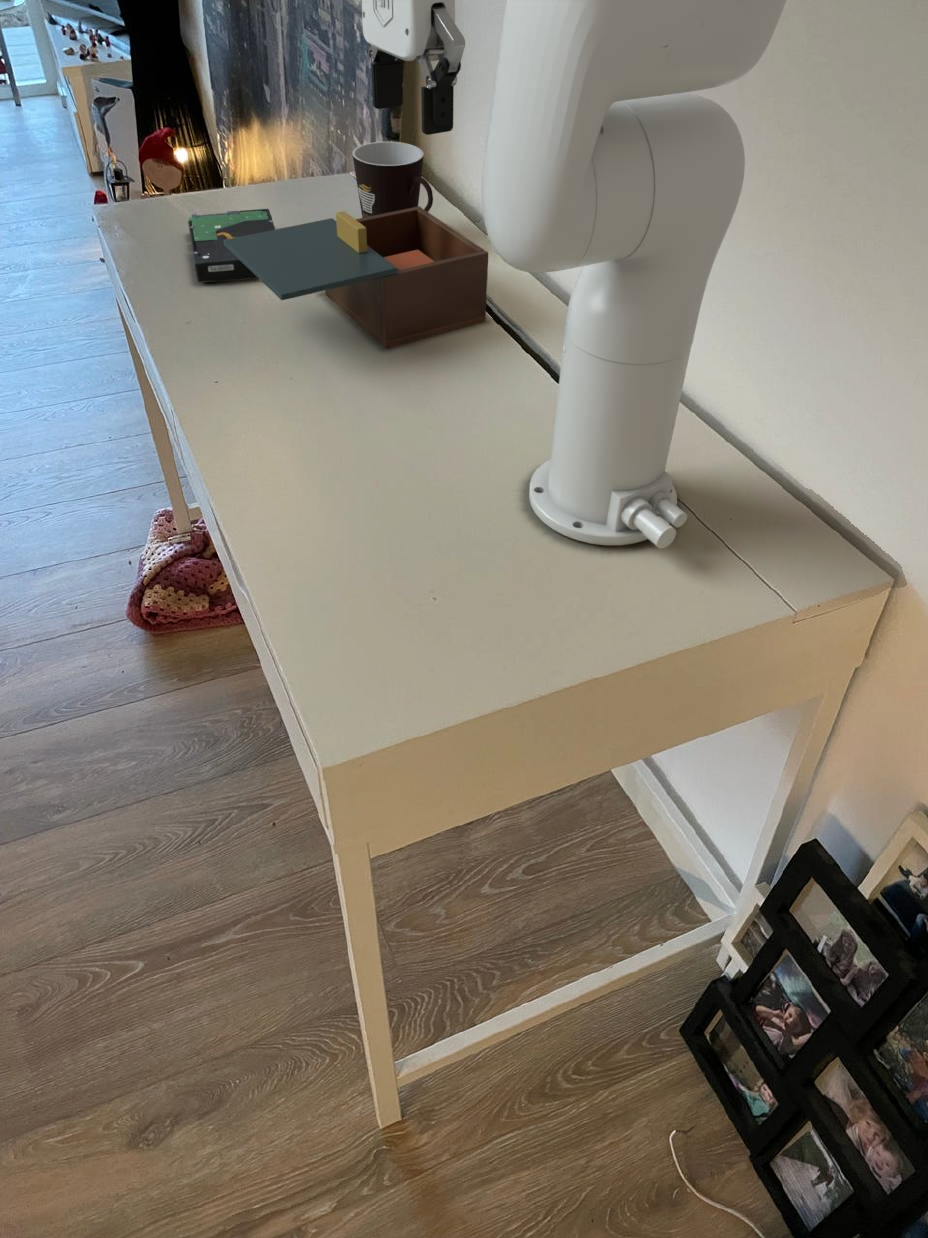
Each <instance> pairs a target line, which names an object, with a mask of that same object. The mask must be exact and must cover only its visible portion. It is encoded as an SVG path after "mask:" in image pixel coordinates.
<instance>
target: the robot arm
mask: <svg viewBox="0 0 928 1238" xmlns="http://www.w3.org/2000/svg"><path fill="white" fill-rule="evenodd" d="M786 2H787V0H506V2H505V9H504V14H503V22H502V28H501V37H500V43H499V50H498V55H497V63H496V71H495V78H494V86H493V91H492V99H491V106H490V113H489V120H488V125H487V126H488V127H487V133H486V140H485V149H484V155H483V164H482V176H481V207H482V208H481V209H482V215H483V221H484V225H485V230H486V234H487V237H488V239H489V242H490V245H492V247H493V249H494V251H495V252H496V254H497V255H498V256H499V257H500V259H502V260H503V262H504V263H506V264H507V265H509V266H510V267H512V268H514V269H516V270H519V271H522V272H526V273H532V274H533V273H534V274H536V273H537V274H544V273H551V272H552V273H553V272H560V271H565V270H571V269H575V268H580V267H581V269H580V271H579V273H578V275H577V278H576V280H575V282H574V285H573V288H572V291H571V293H570V297H569V301H568V304H567V305H568V306H567V312H566V319H565V326H564V335H563V343H562V344H563V346H562V352H561V361H560V370H559V380H558V390H557V396H556V397H557V399H556V408H555V416H554V425H553V434H552V435H553V436H552V443H551V452H550V453H551V454H550V458H549V459H547V460H546V461H544V462H543V463H542V464H540V465H539V466H538V467H537V469H536V470H534V472H533V474H532V476H531V479H530V482H529V491H528V498H529V499H528V500H529V503H530V506H531V508H532V510H533V512H534V514H535V515H536V516H537V517H538V519H540V520H541V521H542V522H543V523H544V524H545V525H546V526H548V527H549V528H550V529H552V530H553V531H555V532H557V533H559V534H561V535H563V536H566V537H567V538H570V539H572V540H575V541H579V542H583V543H585V544H586V543H587V544H591V545H599V546H624V545H632V544H637V543H641V542H645V541H647V540H649V542H651V543H652V544H653V545H654V546H656V547H657V548H658V549H660V550H661V549H666V548H667V547H669V546H670V545H671V544H672V543H673V541H674V540H675V538H676V536H677V530H676V529H677V528H680V527H682V526H683V525H685V523H686V522H687V519H688V514H687V513H686V512H685V511H684V510H682V509H681V508H680V507H679V506H678V496H677V491H676V489H675V486H674V484H673V481H674V477H673V476H672V475H670V474H669V473H668V472H667V471H666V468H667V464H668V463H667V462H668V458H669V453H670V448H671V443H672V439H673V434H674V430H675V425H676V421H677V416H678V411H679V406H680V401H681V397H682V392H683V387H684V383H685V378H686V373H687V368H688V363H689V360H690V359H689V358H690V355H691V349H692V345H693V344H694V343H693V342H694V339H695V334H696V329H697V324H698V320H699V315H700V311H701V308H702V304H703V303H702V302H703V298H704V295H705V291H706V288H707V285H708V281H709V279H710V278H709V277H710V275H711V271H712V268H713V266H714V263H715V260H716V258H717V255H718V253H719V250H720V248H721V246H722V243H723V241H724V239H725V236H726V235H727V231H728V229H729V228H730V225H731V223H732V220H733V217H734V215H735V213H736V210H737V206H738V203H739V200H740V197H741V193H742V191H743V185H744V179H745V169H746V168H745V167H746V158H745V156H746V155H745V148H744V142H743V138H742V134H741V133H740V129H739V127H738V125H737V124H736V122H735V121H734V118H733V117H732V116H731V115H730V113H729V112H728V111H727V110H726V109H725V108H724V107H722V106H721V105H720V104H719V103H717V102H715V101H713V100H711V99H709V98H707V97H704V96H701V95H698V94H692V92H696V91H704V90H709V89H714V88H718V87H722V86H725V85H728V84H730V83H733V82H735V81H737V80H740V79H741V78H742V77H744V76H745V75H747V74H748V73H749V72H750V71H751V70H752V69H753V68H754V67H755V66H756V65H757V64H758V63H759V62H760V60H761V59H762V57H763V55H764V53H765V52H766V50H767V48H768V46H769V44H770V42H771V40H772V38H773V35H774V33H775V31H776V28H777V26H778V23H779V21H780V19H781V17H782V13H783V10H784V8H785V5H786ZM361 21H362V22H361V23H362V35H363V38H364V39H365V41H366V43H368V46H369V48H368V52H367V54H368V55H367V56H368V60H369V63H370V66H371V67H370V69H371V71H370V72H371V91H372V106H373V108H375V109H377V110H382V109H390V108H395V107H401V106H402V105H403V103H404V89H403V88H404V87H403V84H404V83H403V82H404V81H403V61H405V62H412V61H415V60H416V59H417V63H418V65H419V69H420V71H421V74H422V77H423V80H424V82H425V85H424V86H421V87H420V89H421V91H420V101H421V105H420V107H421V109H420V110H421V132H422V133H423V134H425V136H431V135H435V134H441V133H447V132H451V131H453V129H454V98H455V97H454V94H455V93H454V92H455V91H454V87H455V86H456V85H457V84H458V74H459V72H460V71H461V68H462V63H461V61H462V59H463V55H464V51H465V48H466V39H465V36H464V35H463V34H462V32H461V30H460V29H459V28H458V25H457V24H456V0H361ZM436 61H438V62H437V63H436V66H435V67H434V68H433V65H432V62H436ZM690 92H691V93H690ZM672 525H673V526H674V527H673V526H672Z"/></svg>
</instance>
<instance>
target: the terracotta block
mask: <svg viewBox="0 0 928 1238" xmlns="http://www.w3.org/2000/svg"><path fill="white" fill-rule="evenodd" d="M383 258H385V259H386V260H387V261H388V262H390V263H391V264H392V265H394V266H395V267H396V268H397V271H398V270H402V269H407V268H411V267H415V266H420V265H424V264H428V263H432V262H434V261H433V260H432V259H430V258H429V257H428V256H426V255H425V254H423V253H422V252H421V251H419V250H414V251H409V252H405V253H401V254H396V255H392V256H387V257H383Z"/></svg>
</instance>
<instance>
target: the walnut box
mask: <svg viewBox="0 0 928 1238" xmlns="http://www.w3.org/2000/svg"><path fill="white" fill-rule="evenodd" d="M424 209H425V208H423V207H422V206H420V205H418V207H413V208H409V209H404V210H399V211H394V212H389V213H384V214H379V215H374V216H369V217H365V218H362V217H360V218H354V219H355V220H357V221H358V222H359V223H361V224H362V225H363V226H365V227H366V234H367V245H368V246H369V247H370V248H372V249H373V250H374V251H375V252H377V253H378V254H379V255H381V256H382V257H387V256H392V255H396V254H401V253H405V252H409V251H414V250H419V251H421V252H422V253H423V254H425V255H426V256H428V257H429V258H430V259H432V260H433V261H434V262H432V263H428V264H424V265H420V266H415V267H411V268H407V269H402V270H398V271H397V274H392V275H388V276H384V277H380V278H375V279H371V280H367V281H363V282H358V283H354V284H350V285H346V286H341V287H337V288H333V289H329V290H324V294H325V296H326V297H327V298H328V299H330V300H331V301H332V302H333V304H335V305H336V306H338V308H340V310H342V311H343V312H344V313H346V315H348V316H349V317H350V318H351V319H352V320H353V321H354V322H355V323H357V324H358V325H359V326H360V327H361V328H362V329H363V330H365V332H367V333H368V334H369V335H370V336H371V337H373V338H374V339H375V341H377V342H378V343H379V344H380V345H381V346H382V347H384V348H385V349H390V348H393V347H396V346H401V345H404V344H408V343H412V342H416V341H419V340H423V339H427V338H430V337H434V336H437V335H441V334H442V335H443V334H445V333H448V332H453V331H456V330H460V329H464V328H467V327H471V326H475V325H479V324H482V323H486V318H487V317H486V316H487V315H486V314H487V295H488V293H487V292H488V275H489V274H488V273H489V252H488V251H487V250H485V249H483V248H482V247H481V246H480V245H478V244H476V243H475V242H473V241H472V240H471V239H469V238H467V237H466V236H465V235H463V234H461V233H460V232H458V231H457V230H455V229H454V228H452V227H451V226H449V225H448V224H446V223H445V222H443V221H442V220H440V219H439V218H438V217H436V216H435V215H433V214H431V213H430V212H429V211H428V212H427V211H425V210H424Z"/></svg>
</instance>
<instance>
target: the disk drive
mask: <svg viewBox="0 0 928 1238" xmlns="http://www.w3.org/2000/svg"><path fill="white" fill-rule="evenodd" d="M187 224H188V229H189V234H190V243H191V249H192V250H191V251H192V260H193V265H194V270H195V276H196V280H197V282H198V283H202V282H204V283H214V282H215V283H216V282H225V281H240V280H241V281H242V280H251V279H252V280H253V279H259V278H258V277H257V276H256V275H255V274H254V273H253V272H252V271H251V270H249V269H248V268H247V267H246V266H245V265H244V264H243V263H242V262H241V261H240V260H239V259H238V258H237V257H236V256H235V255H234V254H233V253H232V252H231V251H230V250H229V249H228V248H226V247H225V246H224V240H226V239H231V238H236V237H241V236H246V235H251V234H256V233H261V232H266V231H271V230H276V228H275V225H274V221H273V217H272V214H271V211H270V208H260V209H246V210H244V209H243V210H228V211H227V212H222V213H220V212H219V213H217V212H216V213H209V214H197V213H194V214H191V216H190V217H188V222H187Z"/></svg>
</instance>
